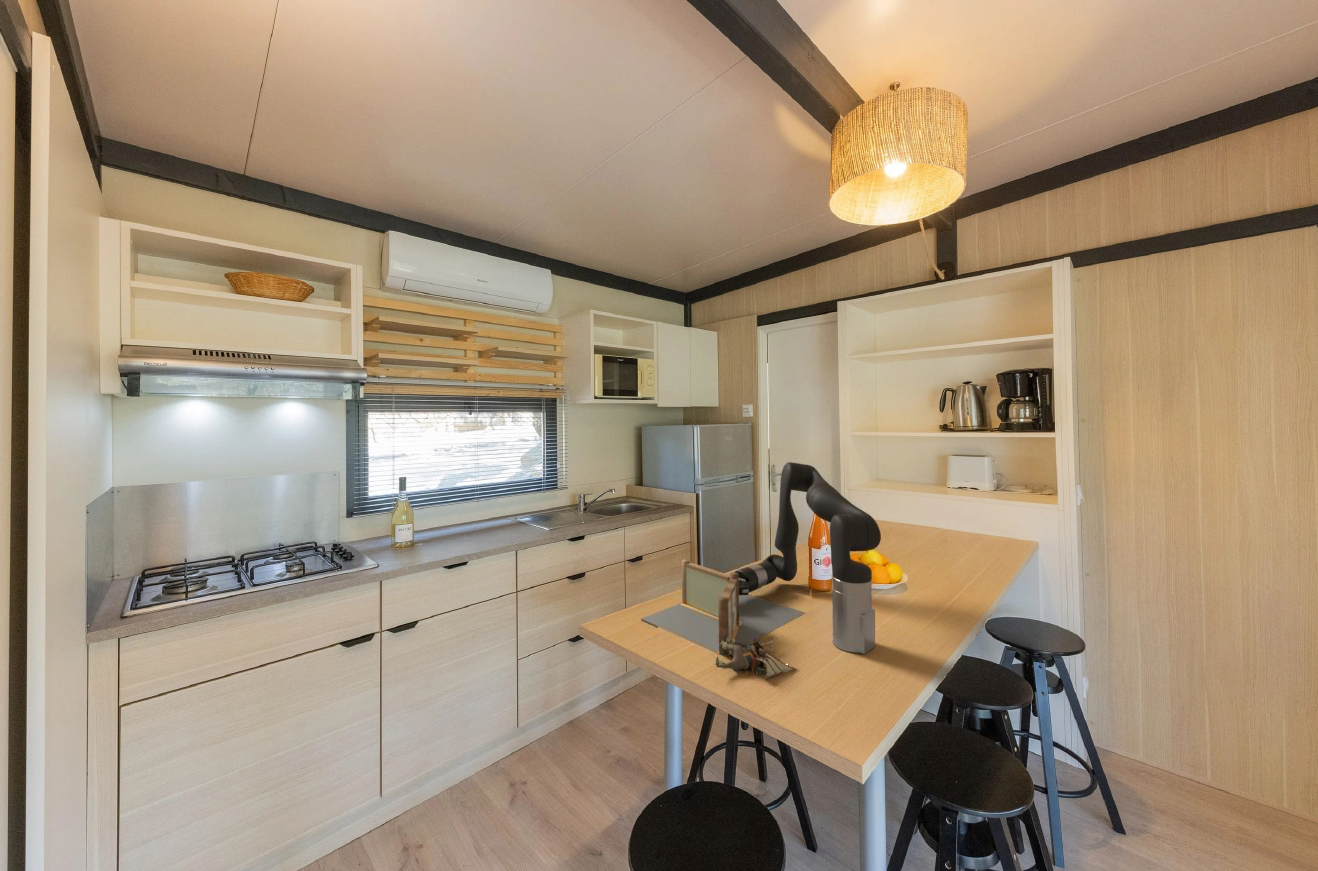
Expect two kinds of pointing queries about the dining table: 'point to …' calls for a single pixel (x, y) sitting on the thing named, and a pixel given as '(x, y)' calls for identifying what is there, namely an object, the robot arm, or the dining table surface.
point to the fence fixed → (728, 611)
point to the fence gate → (702, 586)
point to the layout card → (704, 626)
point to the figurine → (753, 658)
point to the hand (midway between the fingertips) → (712, 592)
